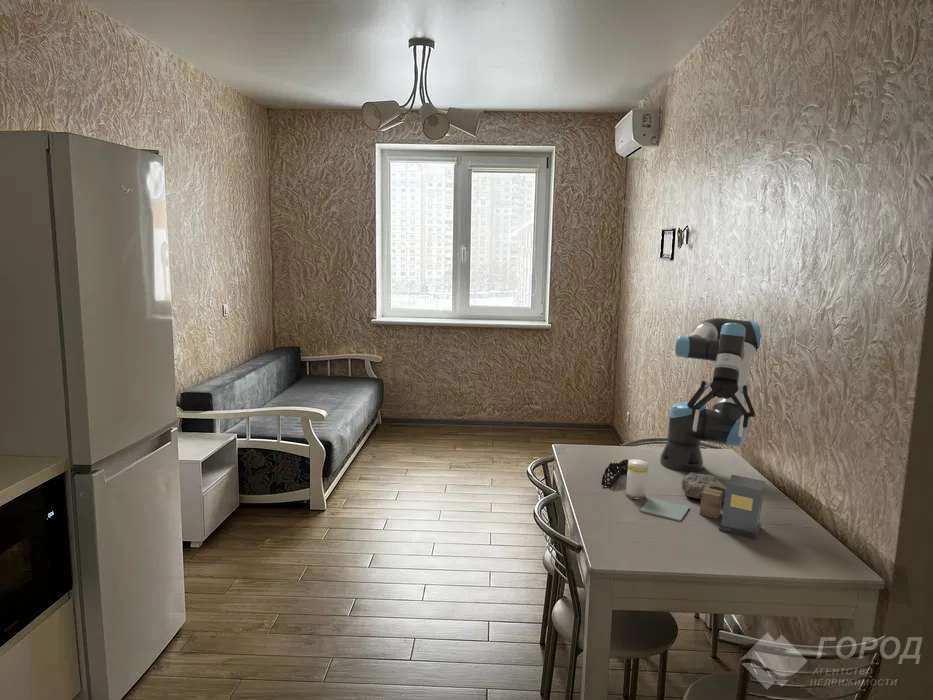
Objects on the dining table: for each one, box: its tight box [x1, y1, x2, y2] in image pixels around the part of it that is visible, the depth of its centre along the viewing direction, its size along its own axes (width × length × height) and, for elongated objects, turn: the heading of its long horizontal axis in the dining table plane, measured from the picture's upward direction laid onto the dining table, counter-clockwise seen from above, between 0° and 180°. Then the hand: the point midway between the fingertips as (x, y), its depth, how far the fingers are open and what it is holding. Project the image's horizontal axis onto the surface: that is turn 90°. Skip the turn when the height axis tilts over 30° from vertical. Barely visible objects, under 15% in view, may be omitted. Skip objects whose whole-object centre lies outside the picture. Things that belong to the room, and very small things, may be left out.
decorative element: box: [601, 458, 629, 489], centre depth 229 cm, size 22×5×6 cm, turn 149°
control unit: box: [718, 474, 766, 540], centre depth 192 cm, size 10×10×14 cm
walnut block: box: [699, 488, 723, 519], centre depth 203 cm, size 5×5×7 cm
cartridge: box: [624, 459, 649, 499], centre depth 214 cm, size 6×6×11 cm
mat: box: [639, 497, 690, 522], centre depth 204 cm, size 12×12×1 cm
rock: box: [681, 471, 726, 503], centre depth 217 cm, size 13×6×15 cm
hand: (716, 433), depth 210 cm, fingers open, 13 cm apart
